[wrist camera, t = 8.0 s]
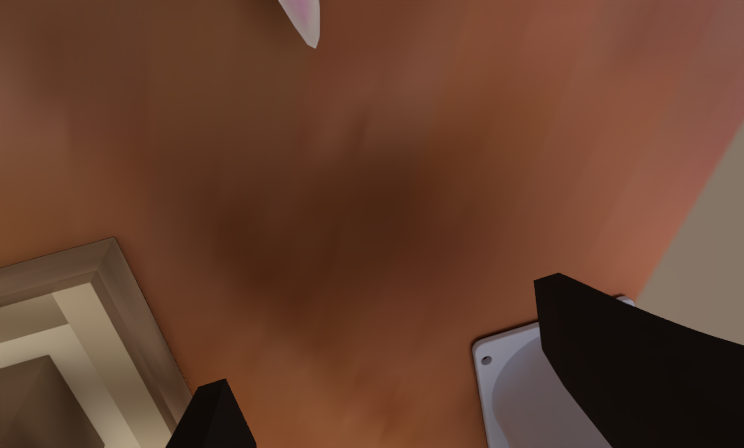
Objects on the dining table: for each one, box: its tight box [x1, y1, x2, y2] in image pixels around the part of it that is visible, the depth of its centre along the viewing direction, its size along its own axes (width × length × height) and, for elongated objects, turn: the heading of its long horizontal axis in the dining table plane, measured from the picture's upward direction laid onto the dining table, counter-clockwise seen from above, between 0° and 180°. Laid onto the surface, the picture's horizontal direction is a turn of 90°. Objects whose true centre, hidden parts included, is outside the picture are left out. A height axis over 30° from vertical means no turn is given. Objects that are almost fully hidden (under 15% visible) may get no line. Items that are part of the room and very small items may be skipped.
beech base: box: [0, 237, 192, 448], centre depth 20 cm, size 10×10×3 cm
